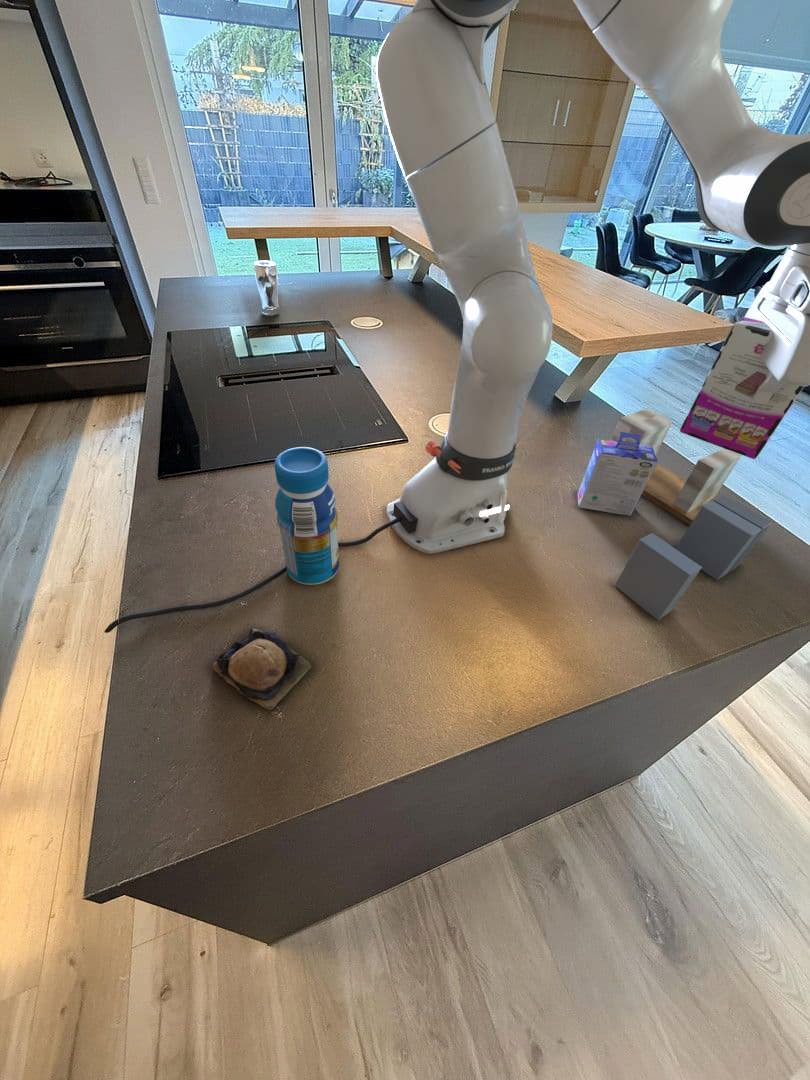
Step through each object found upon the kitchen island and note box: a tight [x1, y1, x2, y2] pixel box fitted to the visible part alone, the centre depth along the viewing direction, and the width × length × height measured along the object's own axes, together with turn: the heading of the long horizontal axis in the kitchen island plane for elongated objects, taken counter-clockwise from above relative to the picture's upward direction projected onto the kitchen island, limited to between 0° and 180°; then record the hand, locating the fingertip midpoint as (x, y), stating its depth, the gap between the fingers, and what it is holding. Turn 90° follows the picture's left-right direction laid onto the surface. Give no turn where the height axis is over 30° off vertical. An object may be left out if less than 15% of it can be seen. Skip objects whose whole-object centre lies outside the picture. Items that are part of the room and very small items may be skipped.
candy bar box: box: [679, 316, 805, 460], centre depth 65 cm, size 11×5×16 cm, turn 48°
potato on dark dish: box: [212, 628, 312, 711], centre depth 58 cm, size 11×8×4 cm
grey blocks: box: [614, 494, 773, 621], centre depth 72 cm, size 22×8×10 cm, turn 123°
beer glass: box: [253, 260, 280, 317], centre depth 152 cm, size 7×7×15 cm
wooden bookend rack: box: [610, 408, 743, 526], centre depth 90 cm, size 11×23×11 cm, turn 33°
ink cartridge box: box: [577, 432, 658, 517], centre depth 84 cm, size 10×6×14 cm, turn 78°
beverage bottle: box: [274, 446, 340, 586], centre depth 66 cm, size 8×8×20 cm
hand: (749, 389), depth 65 cm, fingers closed on candy bar box, 6 cm apart
